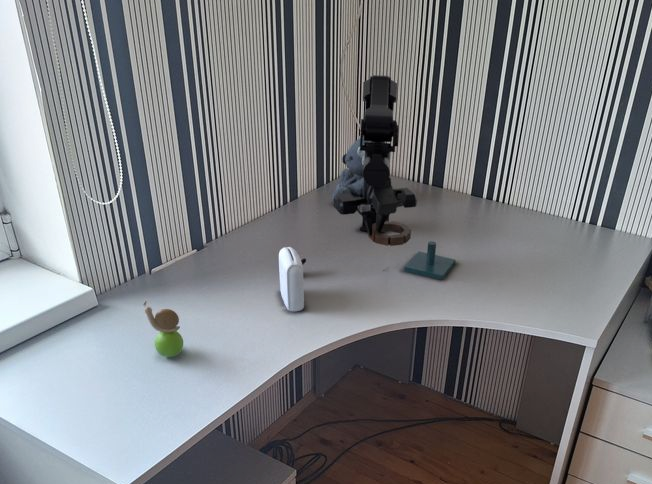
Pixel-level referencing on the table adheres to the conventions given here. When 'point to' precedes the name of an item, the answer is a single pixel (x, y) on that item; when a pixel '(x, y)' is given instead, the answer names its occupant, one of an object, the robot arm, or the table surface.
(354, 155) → the koala plush
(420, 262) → the post stand
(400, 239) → the ring
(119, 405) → the table surface
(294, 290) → the white toy toaster
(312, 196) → the table surface
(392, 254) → the table surface
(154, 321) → the snail figurine
